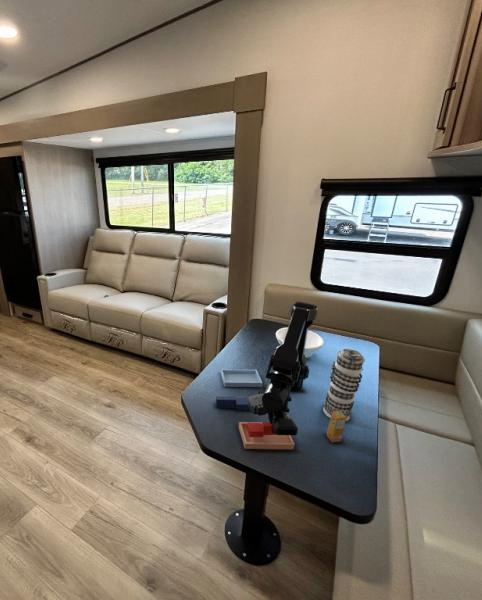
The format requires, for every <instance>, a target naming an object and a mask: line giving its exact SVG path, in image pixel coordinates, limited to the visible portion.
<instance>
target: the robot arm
mask: <svg viewBox="0 0 482 600" xmlns="http://www.w3.org/2000/svg"><path fill="white" fill-rule="evenodd" d="M318 314H319V307H318V305H316V304H314V303H309V302H304V301H299V300H296V301H295V303H291V304H290V306H289V311H288V316H290V321H289V324H288V327H287V328H288V330H287V333H286V336H285V339H284V341H283V344H282V345H280V344H279V345H278V346H277V347H276V348H275V351H274V353H272V354H271V356H270V359H269V362H268V367H267V370H266V374H265V379H268V380H270V381H269V383H268V385H267V387H260V389H258V394H255V395H251V396H249V397H248V401H249V404H250V407H251V410H252V412H253V414H254V415H257V416H259V417H261V416H265V415H267V419H268V422H270V423H271V424H272V433H273V434H277V435H290V436H297V435H298V430H299V428H298V426H297V424H296V422H295V420H294V419H292V418H291V417H289V415H288V413H290V408H289V406H288V405H289V402H290V403H291V402H292V400H293V399H292V397H291V392H304V391H305V390H304V388H303V385H304V384H303V383H304V380H306V379H308V378H309V375H310V368H309V365H308V358H306V357H305V355H304V350H305V344H306V338H307V332H308V330H309V328H310V327H311V326H312V325H313V324H314V322H315V321H316V320H317V318H318ZM273 371H274V372H273Z"/></svg>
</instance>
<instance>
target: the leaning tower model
mask: <svg viewBox="0 0 482 600" xmlns="http://www.w3.org/2000/svg"><path fill="white" fill-rule="evenodd" d="M336 355H337V356H336V360H335V361H332V365H331V366H332V367H331V372H330V376H329V378H330V379H329V385H330V386H329V388H328V391H327V393H326V397H325V400H324V404H323V409H322V410H323V413H324V414H325V415H326V417H328V418H331V414H332V412H334V411H341V412H342V413H343V415H344V416H346V422H347V421H349V420H350V417H351V414H352V411H353V407H354V403H355V401H354V399H355V393H357V392H358V391H359V388H360V383H361V382H362V379H363V375H362V374H361V373H362V371H363V370H364V368H363V364H364V363H365V362H366V358H365V357H364V356H363V354H362V353H361V352H359V351H358V350H356V349H352V348H344V349H341V350H339V351H337V354H336Z"/></svg>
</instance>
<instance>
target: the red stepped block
mask: <svg viewBox="0 0 482 600" xmlns="http://www.w3.org/2000/svg"><path fill="white" fill-rule="evenodd" d="M247 431H248V434H249V437H263V435H277V434H273V433H272V424H271V423H270V422H269V421H265V422H264V421H263V422H262V425H261V423H247Z"/></svg>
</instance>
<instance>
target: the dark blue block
mask: <svg viewBox="0 0 482 600" xmlns="http://www.w3.org/2000/svg"><path fill="white" fill-rule="evenodd" d="M248 401H249V400H248V398H247V397H236V396H219V395H216V396H215V408H220V409H221V408H223V409H225V408H226V409H227V408H228V409H232V408H233V409H235V410H236V411H238V410H242V411H244V410H245V411H247V410H249V404H250V403H249V402H248Z"/></svg>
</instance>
